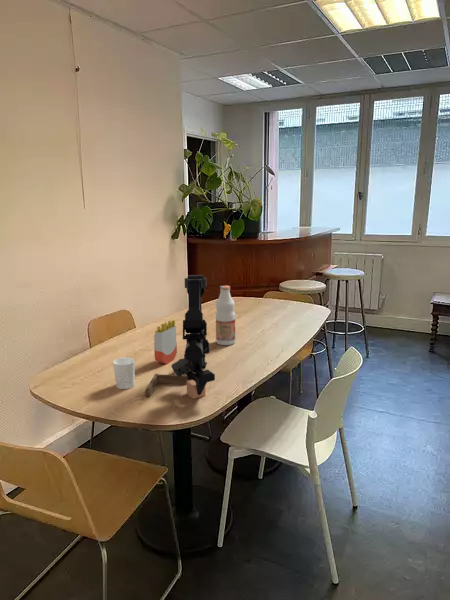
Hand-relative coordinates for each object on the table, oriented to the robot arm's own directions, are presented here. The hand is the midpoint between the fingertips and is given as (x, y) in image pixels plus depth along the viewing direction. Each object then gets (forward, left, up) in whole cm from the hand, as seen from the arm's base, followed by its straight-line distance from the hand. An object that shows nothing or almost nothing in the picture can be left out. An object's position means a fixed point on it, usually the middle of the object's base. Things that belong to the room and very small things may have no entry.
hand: (196, 391), depth 160 cm
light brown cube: (0, 0, -1) cm, 1 cm away
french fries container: (-32, -18, -1) cm, 37 cm away
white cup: (-6, -28, -1) cm, 29 cm away
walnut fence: (-4, -11, -1) cm, 12 cm away
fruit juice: (-58, +6, -1) cm, 58 cm away
